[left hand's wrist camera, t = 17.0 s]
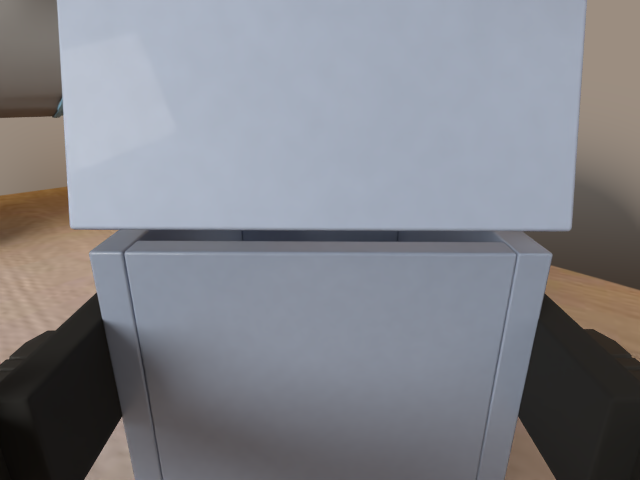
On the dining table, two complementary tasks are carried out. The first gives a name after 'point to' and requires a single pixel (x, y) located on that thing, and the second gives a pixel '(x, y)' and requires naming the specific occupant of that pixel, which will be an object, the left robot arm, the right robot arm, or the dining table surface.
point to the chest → (320, 350)
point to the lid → (321, 114)
